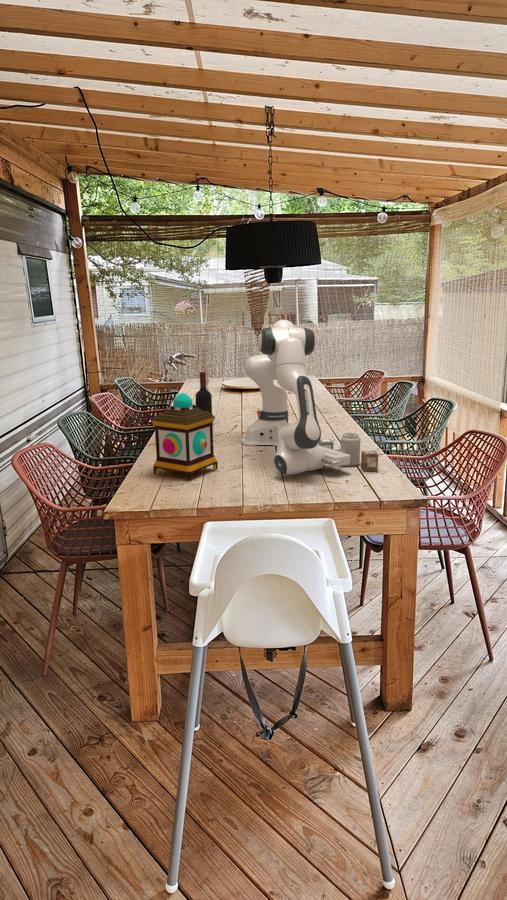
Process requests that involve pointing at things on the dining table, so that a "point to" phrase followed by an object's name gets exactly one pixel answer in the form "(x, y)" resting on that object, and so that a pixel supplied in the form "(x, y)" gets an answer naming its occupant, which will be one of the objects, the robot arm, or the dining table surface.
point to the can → (351, 447)
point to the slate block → (326, 443)
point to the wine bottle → (204, 395)
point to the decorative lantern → (184, 438)
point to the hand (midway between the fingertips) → (342, 452)
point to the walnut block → (369, 461)
